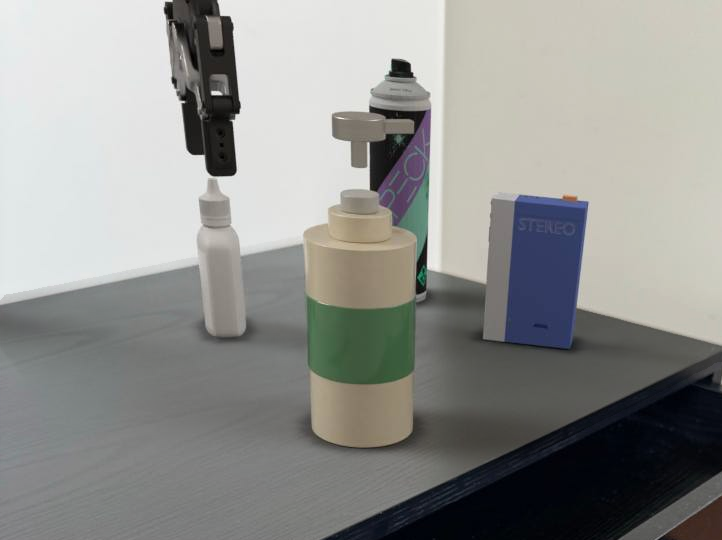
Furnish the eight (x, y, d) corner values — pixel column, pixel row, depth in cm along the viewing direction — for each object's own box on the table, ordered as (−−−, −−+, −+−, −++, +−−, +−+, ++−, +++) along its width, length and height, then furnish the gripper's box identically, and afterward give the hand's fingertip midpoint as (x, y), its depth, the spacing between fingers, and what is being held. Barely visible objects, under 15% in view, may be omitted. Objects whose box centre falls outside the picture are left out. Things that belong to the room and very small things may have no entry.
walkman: (572, 339, 87) (589, 196, 80) (569, 349, 85) (586, 203, 78) (487, 329, 88) (496, 187, 81) (481, 339, 86) (490, 193, 79)
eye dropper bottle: (187, 334, 83) (169, 181, 76) (218, 315, 87) (204, 169, 80) (234, 342, 82) (221, 188, 75) (263, 322, 86) (253, 175, 79)
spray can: (359, 292, 95) (356, 56, 84) (403, 284, 98) (405, 55, 87) (393, 307, 92) (395, 63, 80) (437, 298, 95) (445, 62, 83)
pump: (341, 172, 58) (340, 119, 56) (326, 161, 60) (325, 111, 58) (420, 171, 60) (421, 119, 58) (402, 160, 62) (403, 111, 60)
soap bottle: (327, 453, 65) (318, 208, 56) (299, 412, 71) (287, 181, 62) (428, 441, 68) (435, 204, 59) (393, 402, 73) (395, 179, 64)
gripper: (116, -95, 71) (149, 149, 81) (144, -96, 61) (177, 184, 70) (219, -88, 74) (239, 148, 83) (263, -88, 63) (280, 182, 73)
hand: (211, 164), depth 77 cm, fingers open, 8 cm apart
